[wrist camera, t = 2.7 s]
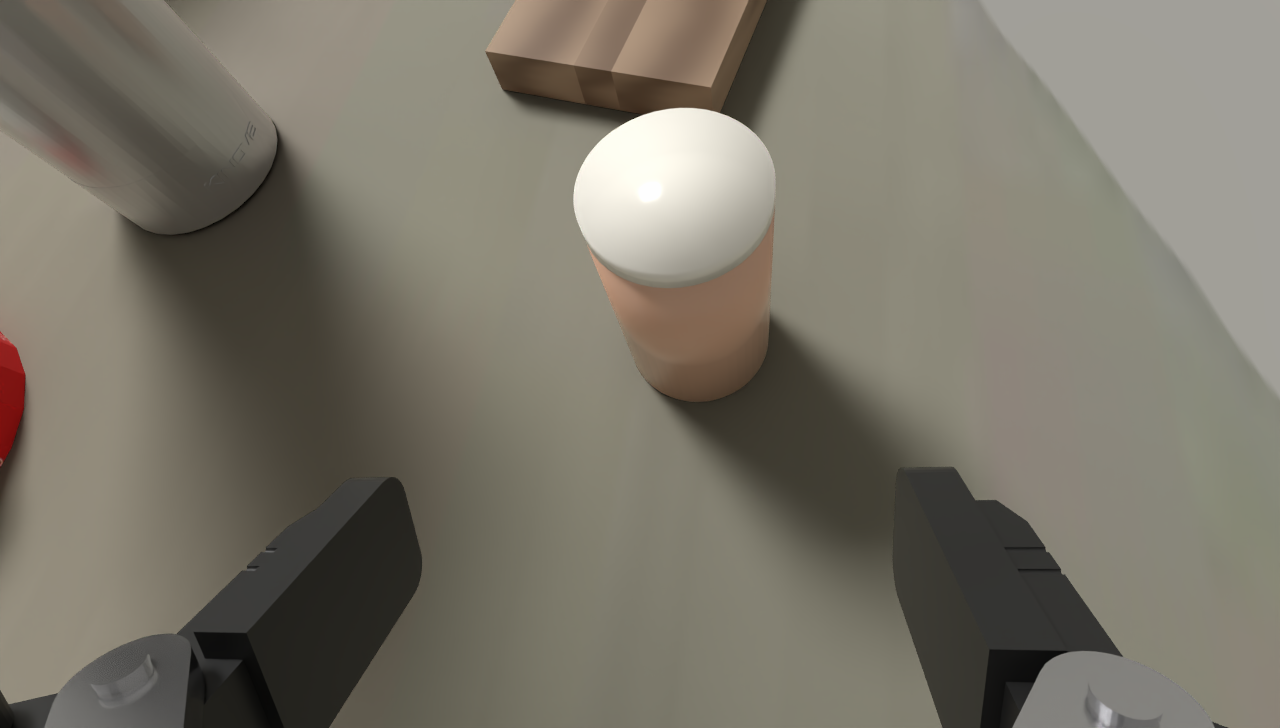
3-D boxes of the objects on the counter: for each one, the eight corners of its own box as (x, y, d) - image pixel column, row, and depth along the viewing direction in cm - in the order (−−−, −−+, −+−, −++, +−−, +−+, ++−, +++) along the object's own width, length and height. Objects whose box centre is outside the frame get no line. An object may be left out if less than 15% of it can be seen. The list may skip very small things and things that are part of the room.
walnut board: (502, 89, 36) (485, 51, 33) (586, -60, 39) (576, -103, 37) (713, 127, 32) (710, 87, 30) (783, -40, 36) (785, -86, 34)
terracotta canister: (611, 379, 28) (542, 246, 19) (658, 265, 30) (616, 94, 21) (744, 419, 26) (738, 295, 17) (785, 296, 28) (800, 125, 19)
